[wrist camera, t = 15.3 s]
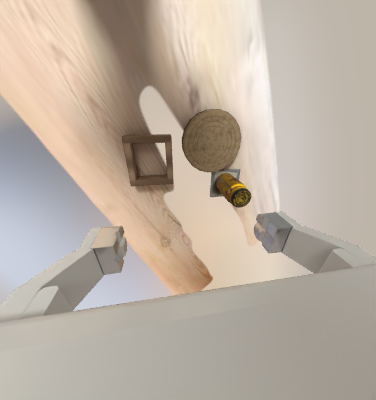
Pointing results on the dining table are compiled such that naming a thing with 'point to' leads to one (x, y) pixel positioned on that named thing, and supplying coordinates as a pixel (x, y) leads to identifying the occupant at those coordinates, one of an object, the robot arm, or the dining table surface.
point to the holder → (131, 164)
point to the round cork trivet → (211, 140)
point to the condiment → (230, 188)
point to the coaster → (223, 171)
